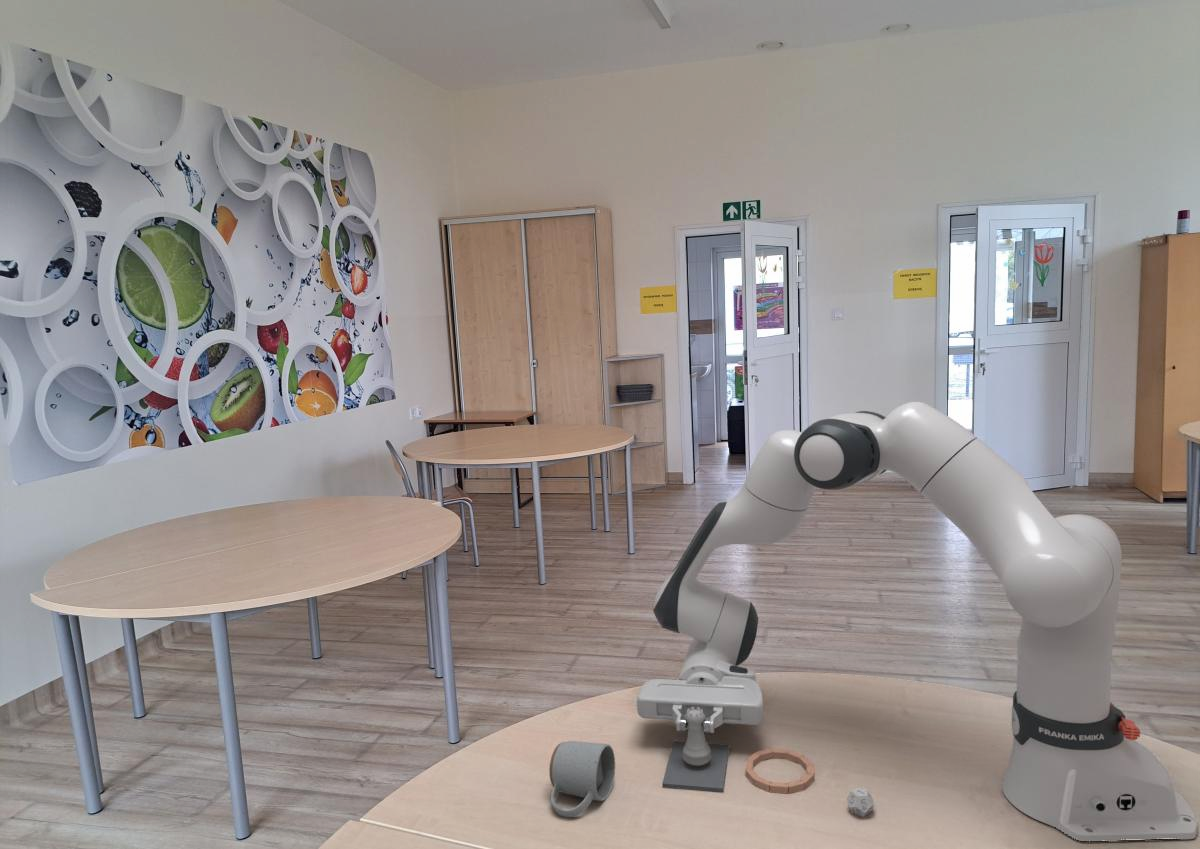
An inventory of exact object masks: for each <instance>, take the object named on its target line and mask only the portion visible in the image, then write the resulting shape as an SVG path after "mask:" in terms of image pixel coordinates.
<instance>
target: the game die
mask: <svg viewBox="0 0 1200 849" xmlns="http://www.w3.org/2000/svg"><path fill="white" fill-rule="evenodd" d="M846 801H847V805H848V808H849V810H850V811H851V813H852V814H854V815H857V816H860V817H862V818H863V817H866V816H867V815H868V814H870V813H871V812H872V810H873V809H874V807H875V803H874V800H873V796H872V794H870V792H869V791H868V789H865V788H862V787H860V786H859V787H858V786H857V787H856V788H854V789H852V790H851V791H850V792H849V794H848V795H847V797H846Z"/></svg>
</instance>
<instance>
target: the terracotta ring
mask: <svg viewBox="0 0 1200 849" xmlns="http://www.w3.org/2000/svg"><path fill="white" fill-rule="evenodd" d="M770 759H780V760H781V759H784V760H789V761H792V762H793V763H797V764H799V765H800V766H801V767H802V768H803V769H804V770H805V771H806V773H805V774H804V775H803V776H802V777H801V778H800V779H796V780H793V781H789V782H779V781H778V782H777V781H771V780H768V779H766V778H763V777H761V776H759V774H757V772H756V771H755V770H754V767H756V765H758V764H759V763H760V762H761V761H766V760H770ZM814 766H815V765H814V763H813V762H811V761H810V760H809V759H808V757H807V756H805V755H804V754H801V753H799V752H797V751H794V750H791V749H786V748H784V749H783V748H767V749H764V750H759V751H756V752H754V753H753V754H751V756H749V757H748V758H746V762H745V776H746V777H747V779H748V780H749V782H750V783H751V784H752V785H753V786H755V787H757V788H759V789H762V790H763V791H767V792H770V793H776V794H777V793H779V794H792V793H796V792H801V791H804V790H806V789H807V788H808V787H810V785H811V784H813V783H814V781H815V771H814V770H815V769H814Z"/></svg>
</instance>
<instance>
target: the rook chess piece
mask: <svg viewBox="0 0 1200 849" xmlns="http://www.w3.org/2000/svg"><path fill="white" fill-rule="evenodd" d="M705 718H706V716H705V714H704V713H703V710H702V709H700V707H697V710H695V709H694V707H691V710H690V709H689V708H688V709H687V713H686V714H685V719H686V720H687V725H686V727H687V736H686V737H687V739H686V741H687V742H686V743H685V746H684V748H683V759H684V760H685V761H686V762H687V763H688V764H690V765H693V766H702V765H705V764H707V763H708V762H709V761H710V759H711V754H710V752H711V750H710V747H709V745H708V744H707V743H708V742H707V740H706V737H705V736H706V735H705V732H704V722H703V721H704V720H705Z"/></svg>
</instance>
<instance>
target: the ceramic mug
mask: <svg viewBox="0 0 1200 849" xmlns="http://www.w3.org/2000/svg"><path fill="white" fill-rule="evenodd" d="M614 752H615V751H614V749H613V747H612V746H611V745H610V744H609V743H600V742H588V741H587V742H586V741H576V740H568V741H562V742H560V743H558V744H557V745H556V746H555V748H554V750H553V752H552V754H551V757H550V762H549V770H548V771H549V780H550V783H551V786H552V787H553V788H552V790H551V794H550V795H551V796H550V799H551V800H550V801H551V805H552V807H553V809H554V811H555V812H556V813H557V814H558V815H559V816H561V817H564V818H568V819H569V818H575V817H578V816H579V815H581V814H583V813H584V812H585V811H586V810H587V809H588V807H589V806H590V805H591V803H592V802H593V801H598V802H603V801H604V800H606V799H607V798H608V797H609V796H610V793H611V792H612V788H613V785H614V780H615V777H616V776H615V775H616V758H615V757H616V756H615V753H614ZM559 792H560V793H563V794H566V795H572V796H577V797H580V798H584V799H583V800H582V801H581V802H580V803H579V804H578V805H576V806H575V807H573V808H569V809H563V807H562V806H559V805H558V803H557V798H558V794H559Z"/></svg>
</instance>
